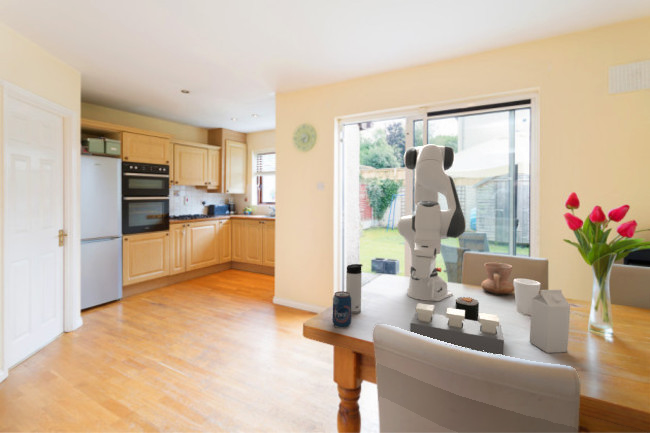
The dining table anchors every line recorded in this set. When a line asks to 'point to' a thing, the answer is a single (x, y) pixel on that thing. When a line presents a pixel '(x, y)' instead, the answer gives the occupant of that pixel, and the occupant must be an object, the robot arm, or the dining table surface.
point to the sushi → (468, 307)
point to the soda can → (342, 309)
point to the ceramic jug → (498, 278)
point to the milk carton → (550, 321)
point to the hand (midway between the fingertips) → (425, 286)
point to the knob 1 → (424, 312)
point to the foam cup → (525, 294)
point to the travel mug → (354, 286)
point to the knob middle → (455, 317)
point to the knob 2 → (488, 322)
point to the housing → (460, 333)
